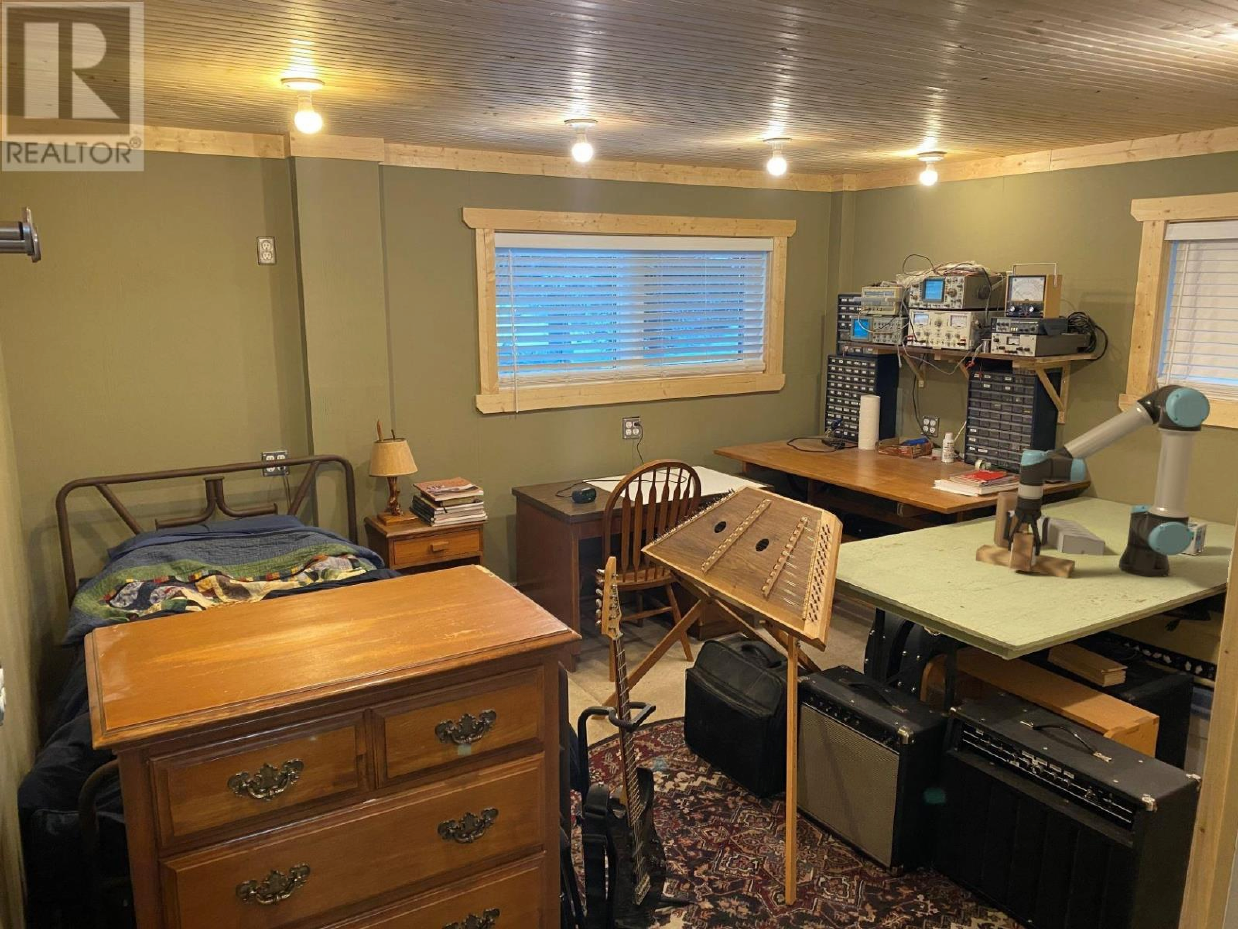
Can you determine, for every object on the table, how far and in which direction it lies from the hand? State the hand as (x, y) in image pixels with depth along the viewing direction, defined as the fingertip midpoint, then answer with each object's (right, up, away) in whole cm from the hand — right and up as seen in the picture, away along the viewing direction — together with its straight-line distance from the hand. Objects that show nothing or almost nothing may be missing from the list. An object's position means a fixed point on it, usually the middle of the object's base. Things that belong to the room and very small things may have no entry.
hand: (1022, 562), depth 298 cm
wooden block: (+10, +2, +32) cm, 33 cm away
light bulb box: (+75, +1, +28) cm, 80 cm away
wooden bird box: (+3, -1, +4) cm, 5 cm away
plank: (+4, -2, +8) cm, 9 cm away
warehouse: (+34, +3, +37) cm, 51 cm away
